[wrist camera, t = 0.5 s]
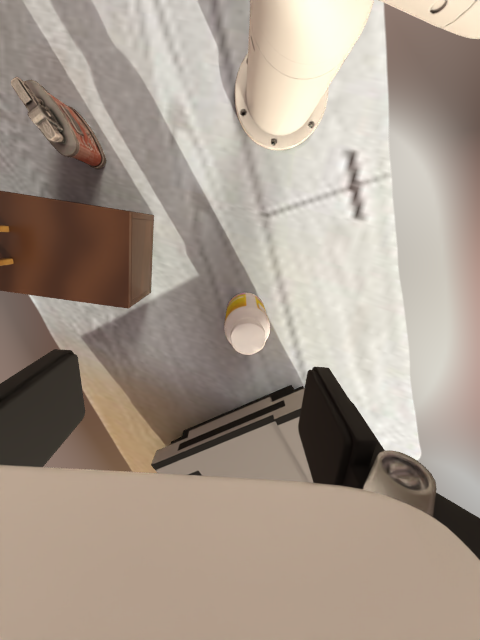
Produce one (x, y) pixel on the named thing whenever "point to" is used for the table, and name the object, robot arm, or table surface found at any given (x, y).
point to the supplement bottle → (246, 323)
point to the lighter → (60, 124)
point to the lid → (65, 250)
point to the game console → (243, 443)
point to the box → (141, 255)
